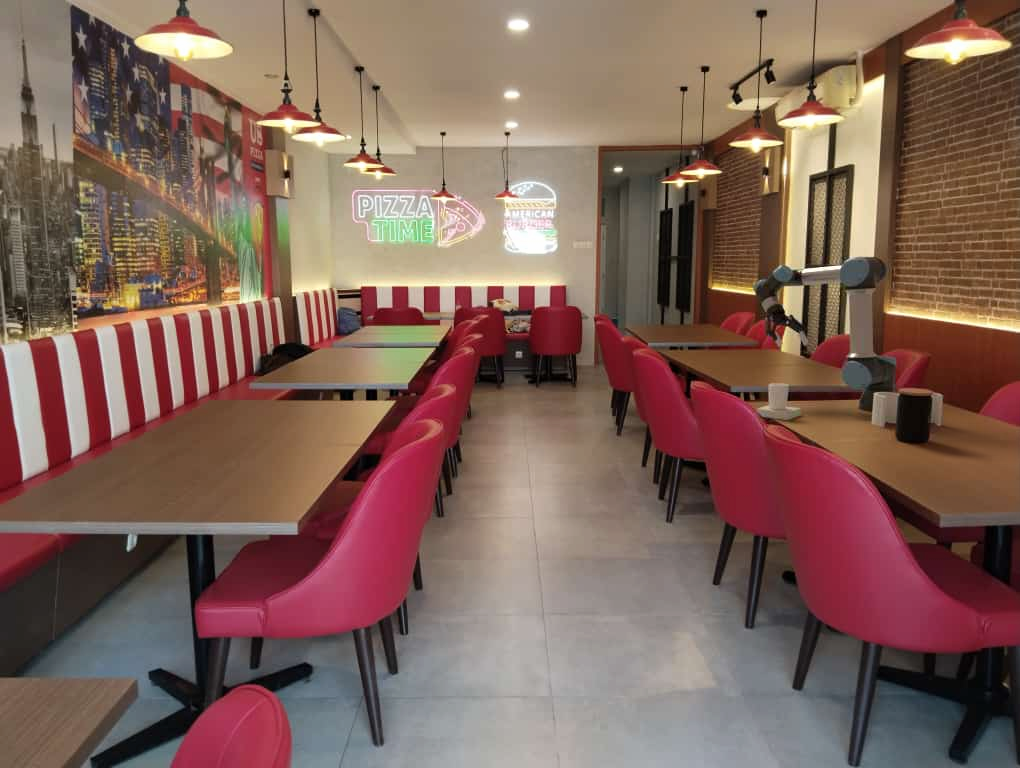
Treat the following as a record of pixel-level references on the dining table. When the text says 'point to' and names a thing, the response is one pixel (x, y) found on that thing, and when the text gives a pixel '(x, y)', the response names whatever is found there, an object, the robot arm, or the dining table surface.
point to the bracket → (888, 404)
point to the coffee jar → (913, 415)
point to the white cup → (778, 396)
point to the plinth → (779, 412)
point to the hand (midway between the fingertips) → (793, 344)
